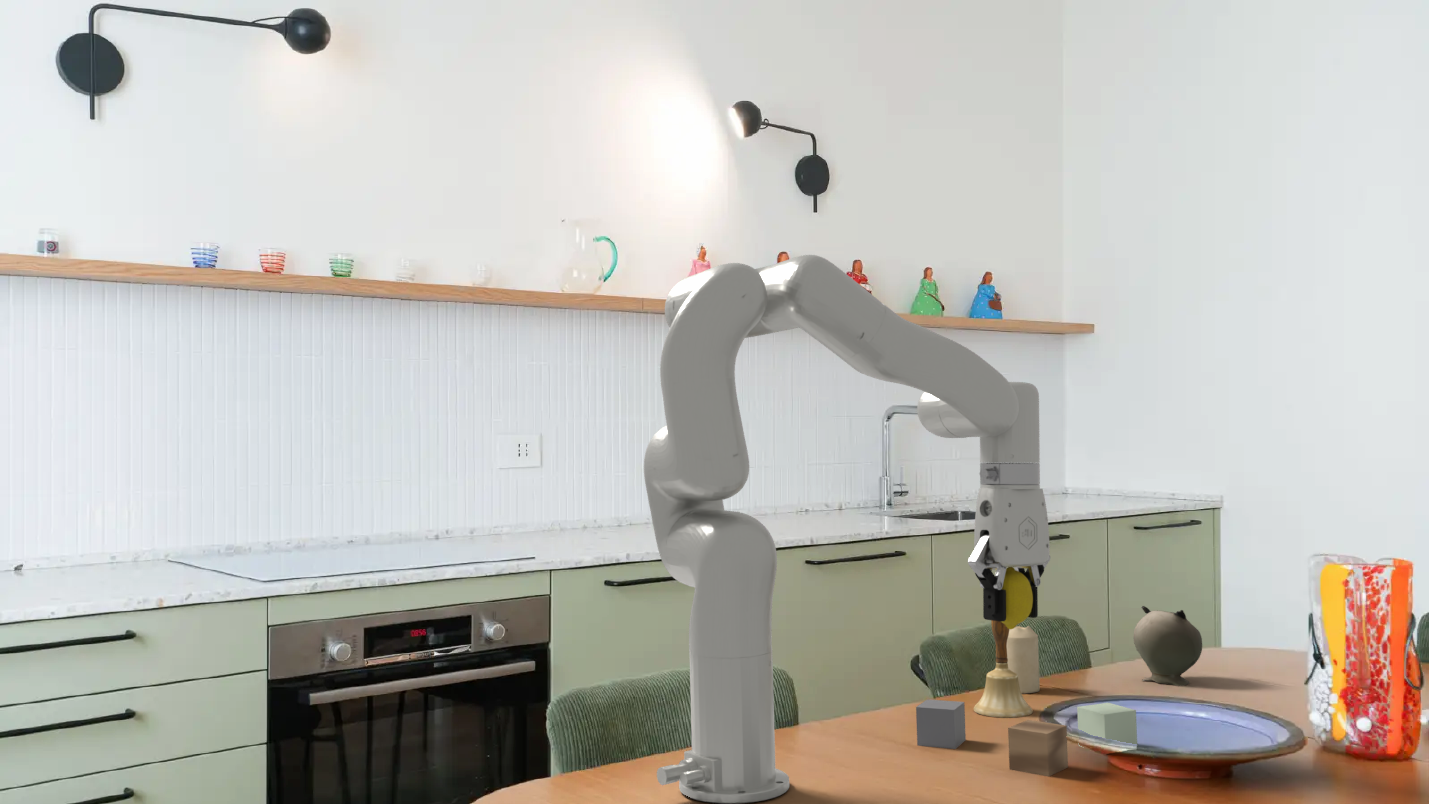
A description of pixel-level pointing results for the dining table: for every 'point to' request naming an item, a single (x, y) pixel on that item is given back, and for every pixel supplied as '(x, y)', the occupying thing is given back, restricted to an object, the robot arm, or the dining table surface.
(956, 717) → the charcoal cube
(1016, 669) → the candle
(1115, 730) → the sage cube
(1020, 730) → the walnut cube
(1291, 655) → the dining table surface
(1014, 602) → the lemon
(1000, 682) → the hand bell
